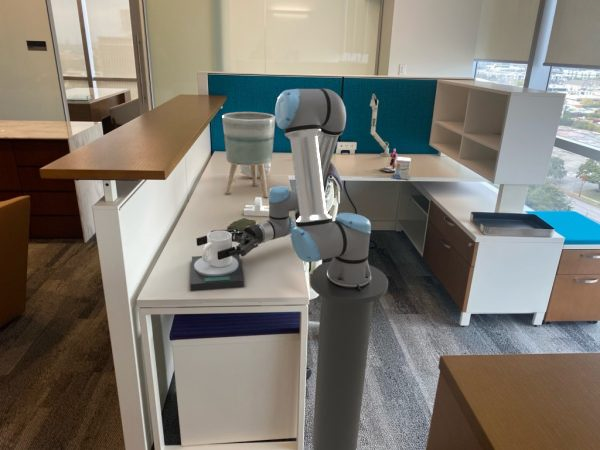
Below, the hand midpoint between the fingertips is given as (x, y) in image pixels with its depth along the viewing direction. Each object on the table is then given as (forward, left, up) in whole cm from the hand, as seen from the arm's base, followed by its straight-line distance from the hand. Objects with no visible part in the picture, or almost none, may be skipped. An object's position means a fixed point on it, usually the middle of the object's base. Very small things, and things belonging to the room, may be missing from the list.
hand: (207, 248), depth 150 cm
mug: (+1, -3, -7) cm, 8 cm away
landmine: (+38, -17, -10) cm, 43 cm away
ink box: (+110, -119, -10) cm, 162 cm away
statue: (+124, -117, -10) cm, 171 cm away
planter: (+89, -23, -10) cm, 93 cm away
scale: (0, -3, -10) cm, 10 cm away
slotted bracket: (+57, -24, -10) cm, 63 cm away
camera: (+116, -29, -10) cm, 120 cm away
